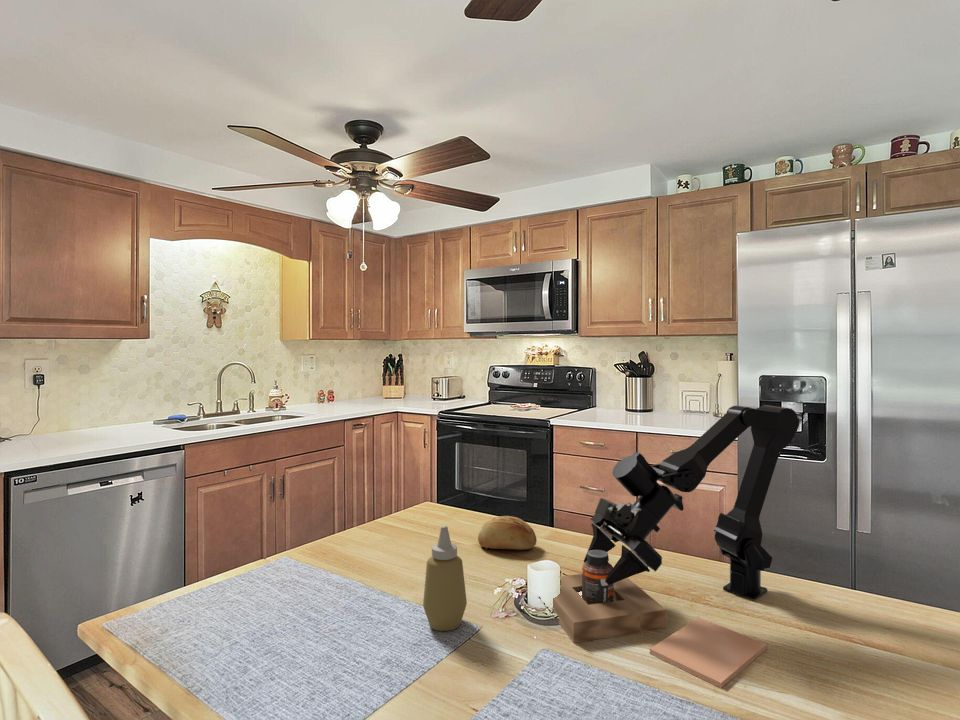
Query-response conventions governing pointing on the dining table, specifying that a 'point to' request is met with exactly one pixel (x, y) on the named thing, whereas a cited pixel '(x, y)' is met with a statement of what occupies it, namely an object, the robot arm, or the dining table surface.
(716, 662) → the terracotta tile
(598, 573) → the supplement bottle
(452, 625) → the squeeze bottle
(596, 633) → the walnut holder
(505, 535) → the bread roll
